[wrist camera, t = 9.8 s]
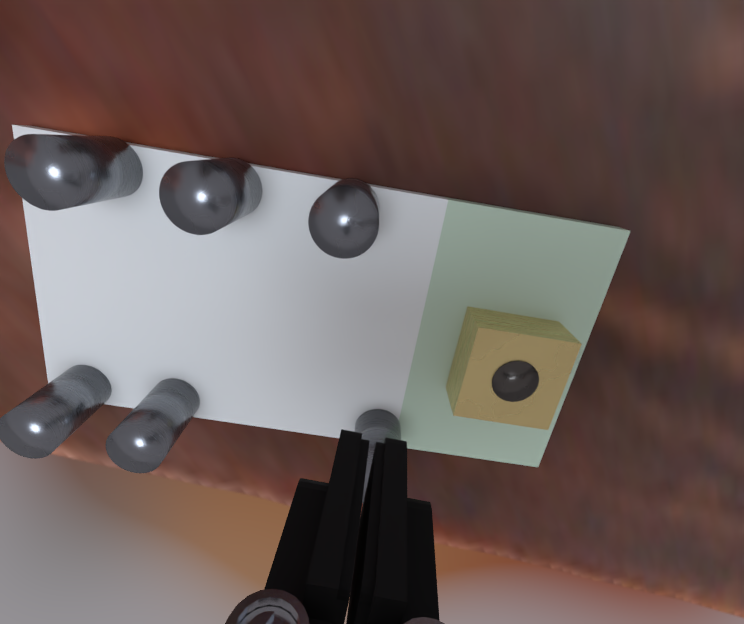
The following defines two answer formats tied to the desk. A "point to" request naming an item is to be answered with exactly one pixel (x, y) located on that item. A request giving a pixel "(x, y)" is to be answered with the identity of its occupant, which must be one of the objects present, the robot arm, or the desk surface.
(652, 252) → the desk surface
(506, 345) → the nut
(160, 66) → the desk surface
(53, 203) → the spacers
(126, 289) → the board
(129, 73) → the desk surface
